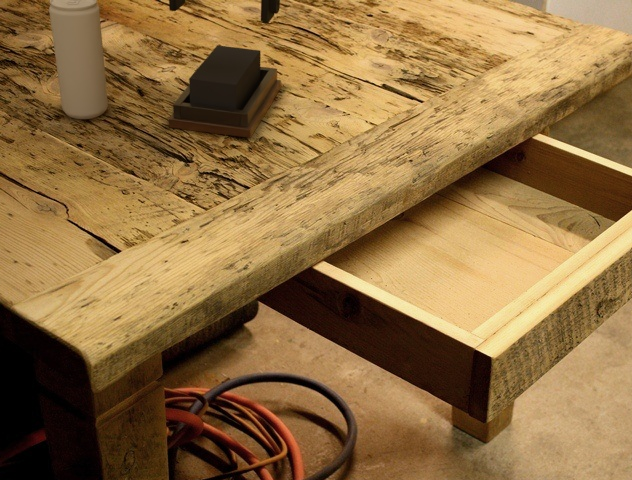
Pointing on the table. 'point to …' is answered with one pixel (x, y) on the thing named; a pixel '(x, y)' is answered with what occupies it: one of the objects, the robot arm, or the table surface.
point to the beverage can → (79, 57)
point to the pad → (226, 78)
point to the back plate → (227, 110)
